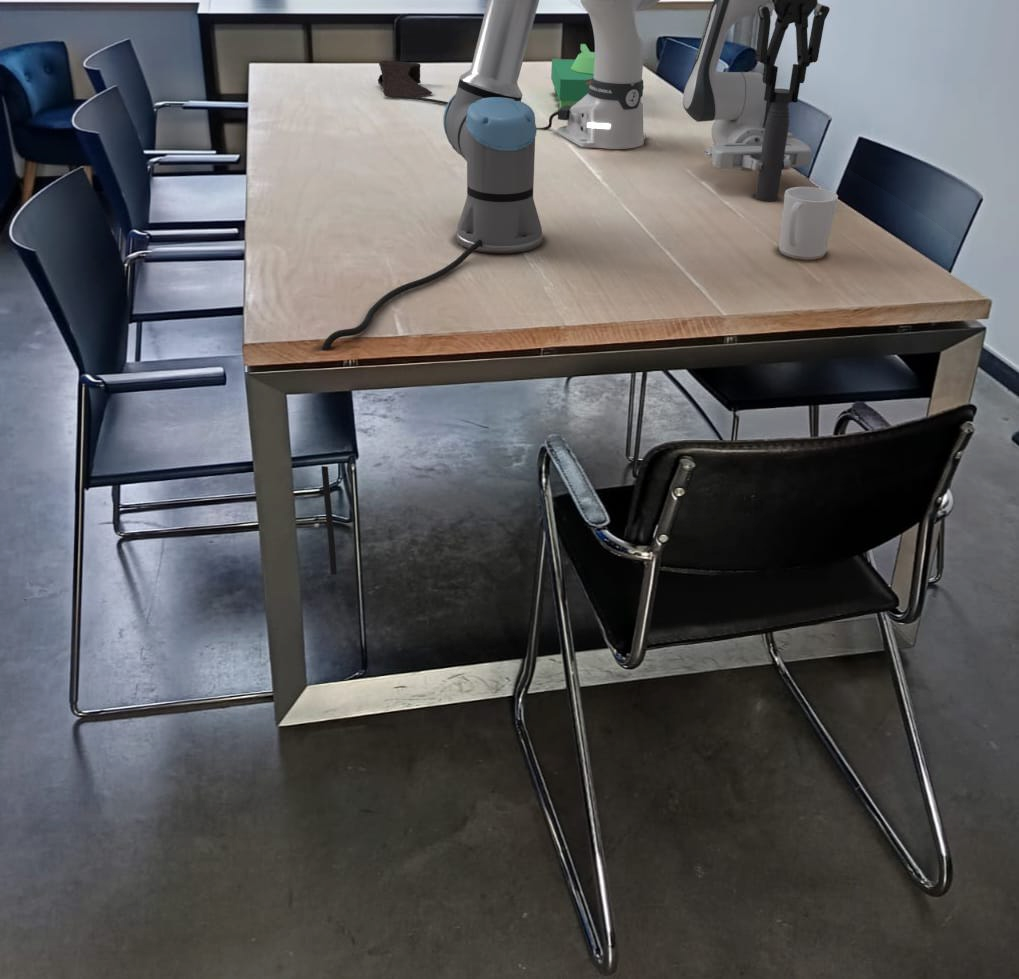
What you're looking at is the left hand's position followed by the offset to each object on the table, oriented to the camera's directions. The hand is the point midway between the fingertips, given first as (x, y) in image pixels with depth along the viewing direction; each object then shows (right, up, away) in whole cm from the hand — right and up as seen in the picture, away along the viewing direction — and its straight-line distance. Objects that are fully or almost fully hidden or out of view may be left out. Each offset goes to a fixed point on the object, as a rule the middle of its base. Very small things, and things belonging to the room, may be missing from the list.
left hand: (780, 100), depth 212 cm
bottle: (0, -16, +10) cm, 19 cm away
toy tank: (-32, +30, +84) cm, 94 cm away
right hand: (0, -11, +6) cm, 12 cm away
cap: (0, +1, -1) cm, 2 cm away
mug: (-1, -34, -19) cm, 39 cm away
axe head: (-82, +34, +89) cm, 125 cm away
